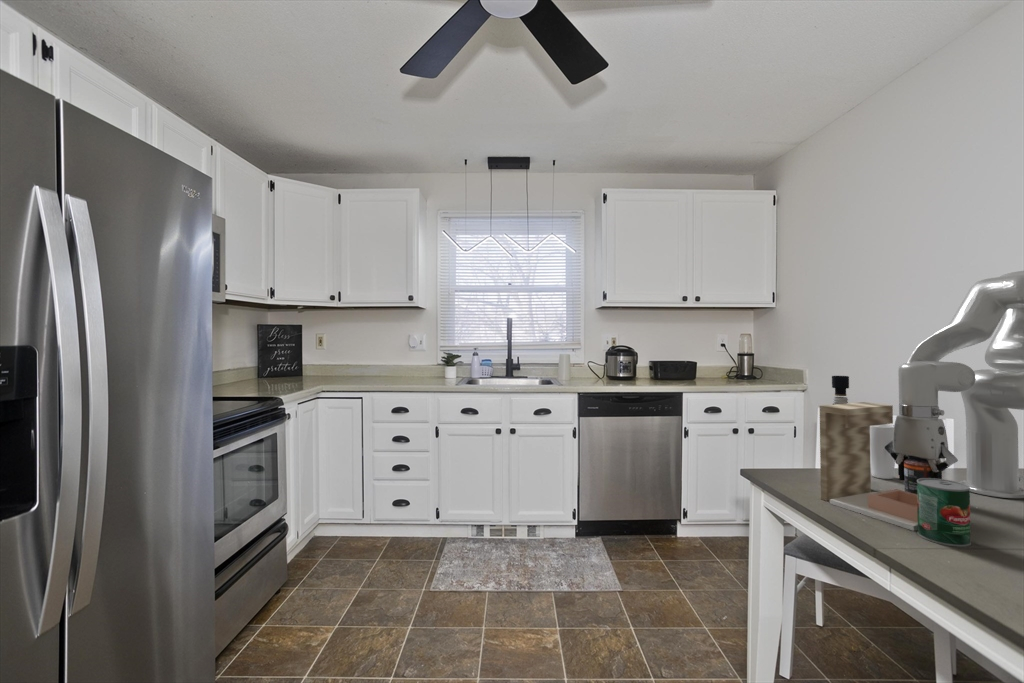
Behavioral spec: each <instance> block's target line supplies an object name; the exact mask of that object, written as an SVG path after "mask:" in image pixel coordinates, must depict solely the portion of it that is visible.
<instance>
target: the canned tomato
mask: <svg viewBox="0 0 1024 683" xmlns="http://www.w3.org/2000/svg"><path fill="white" fill-rule="evenodd" d="M959 482H960V481H959ZM959 482H958V481H954V480H949V479H945V478H944V479H943V478H942V479H935V478H921V479H917V506H918V508H917V509H918V512H917V513H918V516H917V517H918V530H917V535H918V536H919V537H921V538H922V539H924V540H926V541H929V542H932V543H935V544H939V545H942V546H949V547H956V548H957V547H958V548H959V547H961V548H963V547H964V548H965V547H970V546H971V544H972V542H971V500H970V499H971V498H970V497H971V494H970V493H971V491H970V487H969V486H967V485H965V484H962V483H959Z"/></svg>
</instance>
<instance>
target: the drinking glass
mask: <svg viewBox="0 0 1024 683" xmlns="http://www.w3.org/2000/svg"><path fill="white" fill-rule="evenodd" d="M894 425H895V424H894ZM894 425H893V424H883V425H874V426H870V471H871V477H874V478H876V479H882V480H892V479H894V478H895V466H896V465H895V464H896V462H895V460H894V459H893V457H892V456H891V454H889V452H888V451H887V450H886V449H885V446H886V445H887V444H889V443H890V442H891V441H893V432H894Z"/></svg>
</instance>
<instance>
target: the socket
mask: <svg viewBox="0 0 1024 683" xmlns="http://www.w3.org/2000/svg"><path fill="white" fill-rule="evenodd" d="M829 504H830V505H832V506H833V505H834V506H836V507H839V508H843V509H846V510H849V511H852V512H855V513H857V512H858V513H857V514H860V513H861V515H864V516H867V517H869V518H872V519H873V518H874V519H876V520H880V521H883V522H885V523H889V524H892V525H894V526H898V527H901V528H904V529H907V530H911V531H912V532H914V531H918V517H917V516H918V513H917V512H918V509H917V508H918V506H917V494H913V493H909V492H906V491H905V490H901V489H898V488H896V489H894V488H893V489H890V490H885V491H884V490H882V491H878V492H877V491H871V492H869V493H863V494H858V495H852V496H846V497H841V498H835V499H830V501H829Z"/></svg>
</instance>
